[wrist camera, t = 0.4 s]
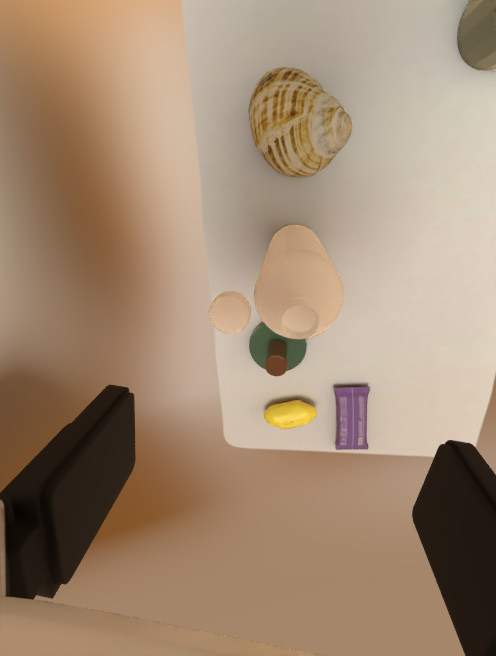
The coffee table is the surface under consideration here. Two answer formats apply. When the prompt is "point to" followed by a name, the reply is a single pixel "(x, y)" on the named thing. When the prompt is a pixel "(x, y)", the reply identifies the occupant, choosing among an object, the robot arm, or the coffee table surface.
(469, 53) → the green cylindrical vase
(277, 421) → the lemon
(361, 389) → the snack package
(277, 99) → the seashell
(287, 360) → the lid
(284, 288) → the water bottle
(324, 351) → the coffee table surface
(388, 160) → the coffee table surface
